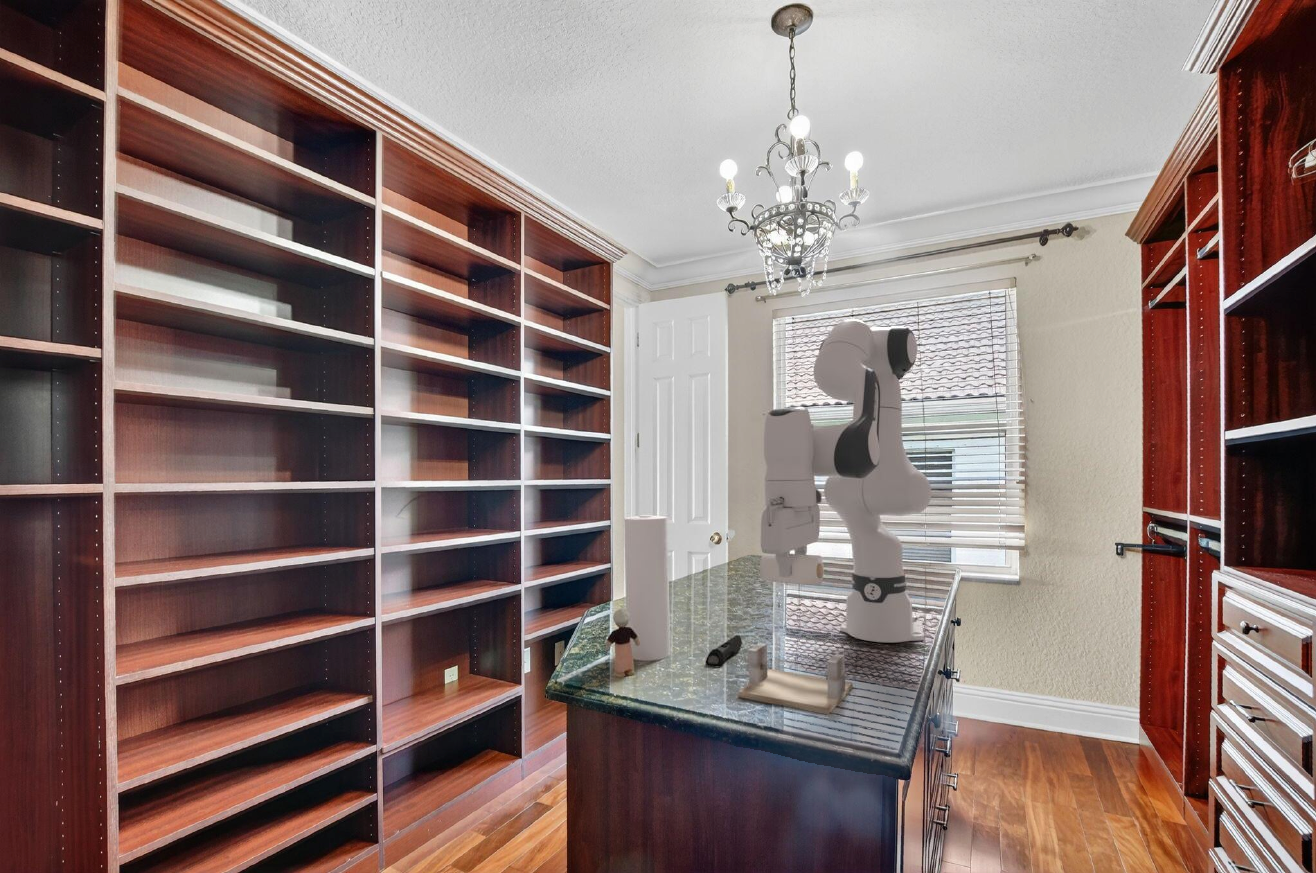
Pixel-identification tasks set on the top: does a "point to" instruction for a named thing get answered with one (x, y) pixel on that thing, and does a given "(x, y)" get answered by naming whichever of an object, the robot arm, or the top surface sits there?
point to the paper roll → (793, 569)
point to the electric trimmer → (724, 651)
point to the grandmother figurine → (622, 644)
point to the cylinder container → (648, 585)
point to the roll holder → (795, 684)
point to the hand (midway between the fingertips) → (792, 573)
